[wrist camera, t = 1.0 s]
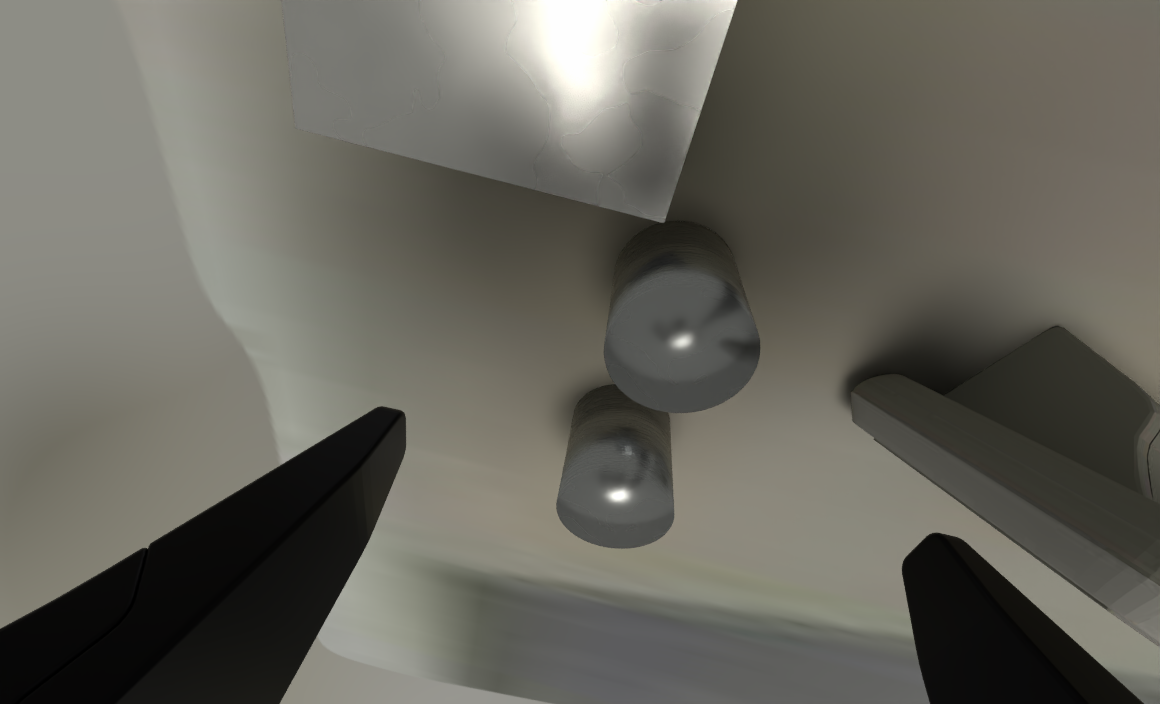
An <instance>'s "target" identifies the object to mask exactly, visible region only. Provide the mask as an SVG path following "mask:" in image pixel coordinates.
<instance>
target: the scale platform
mask: <svg viewBox="0 0 1160 704" xmlns="http://www.w3.org/2000/svg"><path fill="white" fill-rule="evenodd" d="M281 2H282V11H283V20H284V29H285V38H286V48H287V57H288V66H289V75H290V84H291V93H292V102H293V111H294V120H295V128H296V129H300V130H303V131H307V132H311V133H315V134H319V135H323V136H327V137H331V138H335V139H338V140H342V141H346V142H350V143H354V144H358V145H362V146H366V147H370V148H373V149H377V150H381V151H385V152H389V153H393V154H397V155H401V156H404V157H408V158H412V159H416V160H420V161H424V162H428V163H432V164H436V165H439V166H443V167H447V168H451V169H455V170H459V171H463V172H467V173H471V174H474V175H478V176H482V177H486V178H490V179H494V180H498V181H502V182H506V183H509V184H513V185H517V186H521V187H525V188H529V189H533V190H537V191H541V192H544V193H548V194H552V195H556V196H560V197H564V198H568V199H572V200H576V201H579V202H583V203H587V204H591V205H595V206H599V207H603V208H607V209H611V210H614V211H618V212H622V213H626V214H630V215H634V216H638V217H642V218H646V219H649V220H653V221H657V222H661V223H664V222H665V219H666V216H667V213H668V210H669V207H670V204H671V200H672V197H673V194H674V191H675V188H676V185H677V182H678V179H679V176H680V173H681V170H682V167H683V164H684V161H685V158H686V155H687V152H688V149H689V146H690V143H691V140H692V137H693V134H694V131H695V128H696V125H697V122H698V118H699V115H700V112H701V109H702V106H703V103H704V100H705V97H706V94H707V91H708V88H709V85H710V82H711V79H712V76H713V73H714V70H715V67H716V64H717V61H718V58H719V55H720V52H721V49H722V46H723V43H724V40H725V36H726V33H727V30H728V27H729V24H730V21H731V18H732V15H733V12H734V9H735V6H736V3H737V0H281Z"/></svg>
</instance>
